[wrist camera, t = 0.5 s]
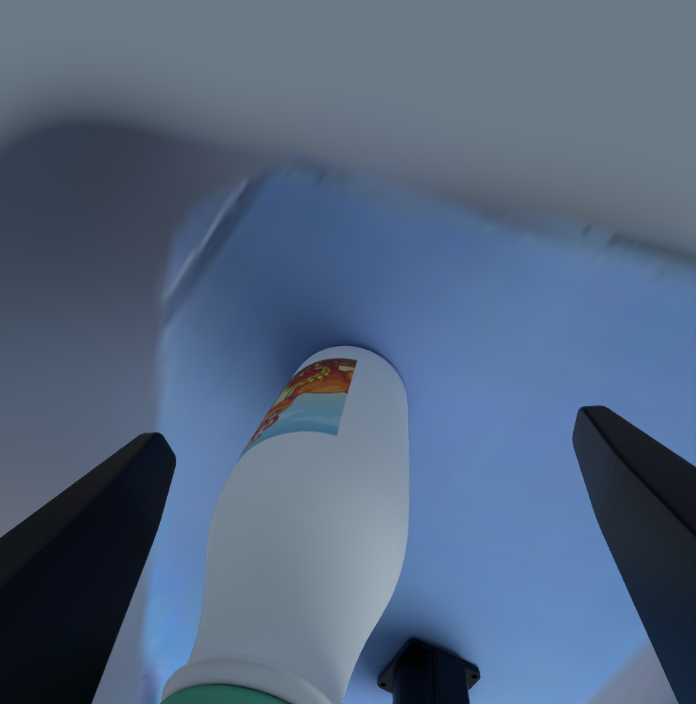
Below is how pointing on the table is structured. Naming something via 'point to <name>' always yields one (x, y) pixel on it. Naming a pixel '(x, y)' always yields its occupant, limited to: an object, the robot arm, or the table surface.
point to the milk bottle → (305, 540)
